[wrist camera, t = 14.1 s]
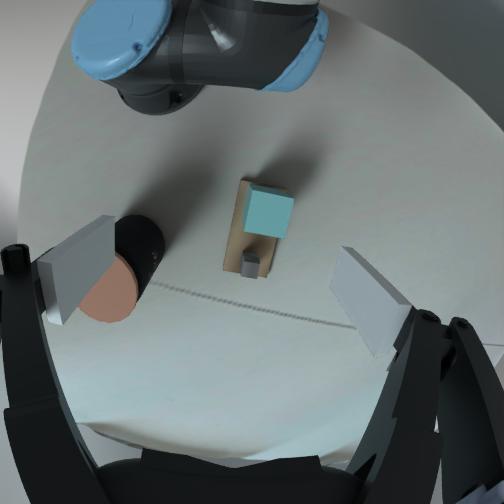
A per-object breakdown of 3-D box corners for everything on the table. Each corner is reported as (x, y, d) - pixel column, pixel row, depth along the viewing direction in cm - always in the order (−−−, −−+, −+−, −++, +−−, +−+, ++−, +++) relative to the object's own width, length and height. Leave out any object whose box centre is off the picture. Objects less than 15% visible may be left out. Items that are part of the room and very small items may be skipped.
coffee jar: (140, 280, 50) (107, 336, 33) (102, 240, 47) (52, 281, 30) (178, 244, 48) (154, 293, 31) (137, 200, 45) (92, 228, 28)
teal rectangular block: (241, 216, 45) (244, 231, 37) (248, 183, 43) (252, 190, 35) (274, 223, 46) (284, 238, 38) (282, 190, 44) (294, 198, 36)
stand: (222, 267, 50) (221, 294, 41) (240, 179, 45) (243, 186, 36) (265, 274, 51) (274, 302, 42) (287, 189, 46) (302, 199, 37)
